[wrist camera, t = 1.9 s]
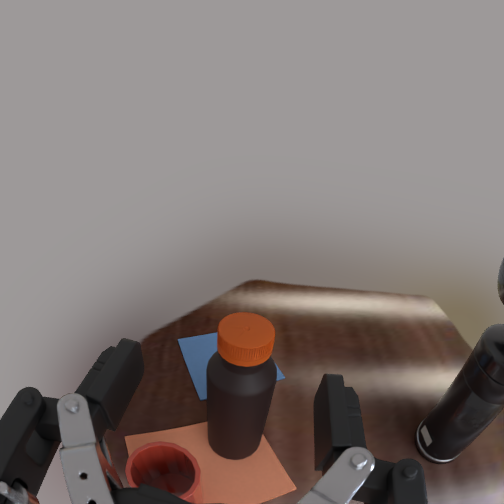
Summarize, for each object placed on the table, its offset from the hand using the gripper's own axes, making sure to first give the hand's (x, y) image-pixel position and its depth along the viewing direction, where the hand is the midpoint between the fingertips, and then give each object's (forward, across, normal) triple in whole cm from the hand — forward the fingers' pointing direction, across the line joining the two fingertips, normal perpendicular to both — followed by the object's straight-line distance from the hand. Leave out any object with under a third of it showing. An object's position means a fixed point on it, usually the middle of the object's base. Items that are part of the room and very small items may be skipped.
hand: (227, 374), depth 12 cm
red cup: (+1, +5, +27) cm, 27 cm away
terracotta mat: (+6, +3, +27) cm, 28 cm away
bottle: (+11, 0, +27) cm, 29 cm away
